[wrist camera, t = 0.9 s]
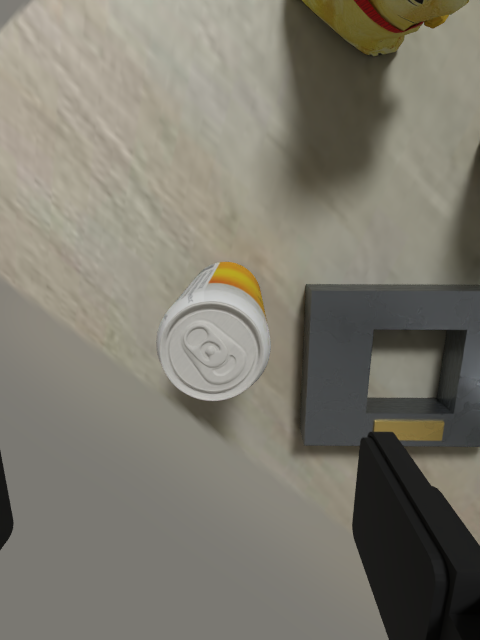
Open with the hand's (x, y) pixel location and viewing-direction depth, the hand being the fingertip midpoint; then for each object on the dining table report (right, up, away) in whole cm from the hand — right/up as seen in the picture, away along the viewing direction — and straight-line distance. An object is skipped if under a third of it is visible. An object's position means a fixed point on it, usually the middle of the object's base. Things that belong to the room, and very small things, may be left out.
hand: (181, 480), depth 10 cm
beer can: (0, +6, +24) cm, 25 cm away
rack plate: (+16, 0, +25) cm, 30 cm away
